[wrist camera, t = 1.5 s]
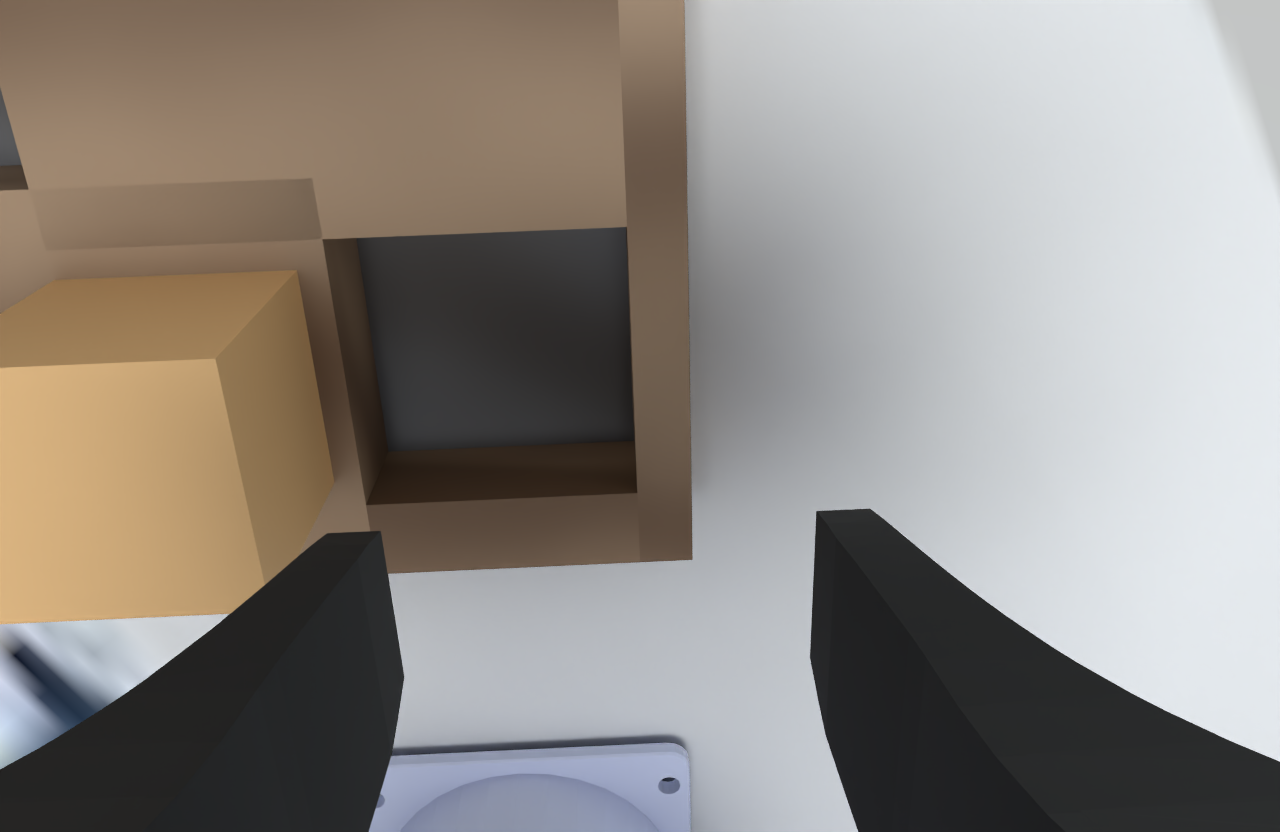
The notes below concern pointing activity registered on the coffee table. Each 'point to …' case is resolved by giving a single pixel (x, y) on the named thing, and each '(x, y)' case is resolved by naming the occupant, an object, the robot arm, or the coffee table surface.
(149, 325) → the block
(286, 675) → the robot arm
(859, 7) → the coffee table surface
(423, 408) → the trap board
